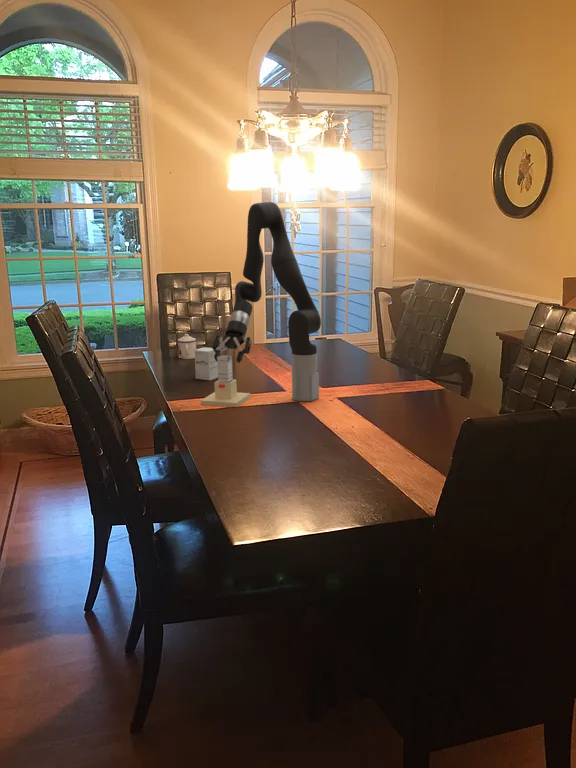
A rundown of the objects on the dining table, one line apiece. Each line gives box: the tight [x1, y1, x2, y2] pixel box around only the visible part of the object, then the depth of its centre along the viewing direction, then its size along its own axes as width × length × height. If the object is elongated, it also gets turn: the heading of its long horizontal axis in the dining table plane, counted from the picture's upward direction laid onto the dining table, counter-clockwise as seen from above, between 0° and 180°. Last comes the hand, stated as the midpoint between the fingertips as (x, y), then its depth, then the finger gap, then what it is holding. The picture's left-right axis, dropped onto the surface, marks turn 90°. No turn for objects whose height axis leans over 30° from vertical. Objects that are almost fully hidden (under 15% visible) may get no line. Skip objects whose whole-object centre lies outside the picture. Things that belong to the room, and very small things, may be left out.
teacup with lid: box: [177, 333, 197, 360], centre depth 317 cm, size 12×9×12 cm
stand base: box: [200, 379, 252, 408], centre depth 240 cm, size 14×14×8 cm
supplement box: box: [194, 347, 218, 381], centre depth 275 cm, size 7×7×13 cm
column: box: [217, 354, 234, 383], centre depth 239 cm, size 4×4×15 cm
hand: (227, 361), depth 240 cm, fingers open, 8 cm apart
